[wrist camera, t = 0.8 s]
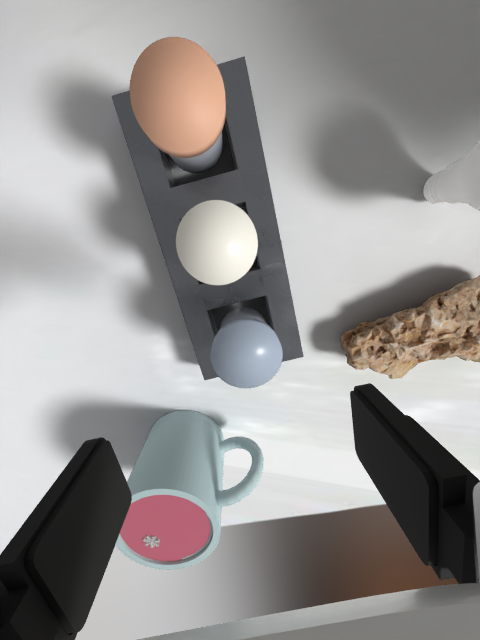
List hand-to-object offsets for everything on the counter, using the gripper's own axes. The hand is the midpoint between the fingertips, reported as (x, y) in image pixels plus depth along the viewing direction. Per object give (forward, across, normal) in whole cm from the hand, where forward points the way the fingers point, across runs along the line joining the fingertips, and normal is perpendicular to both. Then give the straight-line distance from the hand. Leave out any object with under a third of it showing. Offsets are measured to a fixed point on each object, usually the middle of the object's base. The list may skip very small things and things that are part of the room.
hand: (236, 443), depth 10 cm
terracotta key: (+15, 0, -15) cm, 22 cm away
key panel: (+18, -1, -7) cm, 19 cm away
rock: (+18, -19, +6) cm, 27 cm away
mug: (+18, +6, +14) cm, 24 cm away
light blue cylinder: (+15, -1, +1) cm, 15 cm away
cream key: (+15, -1, -7) cm, 17 cm away
